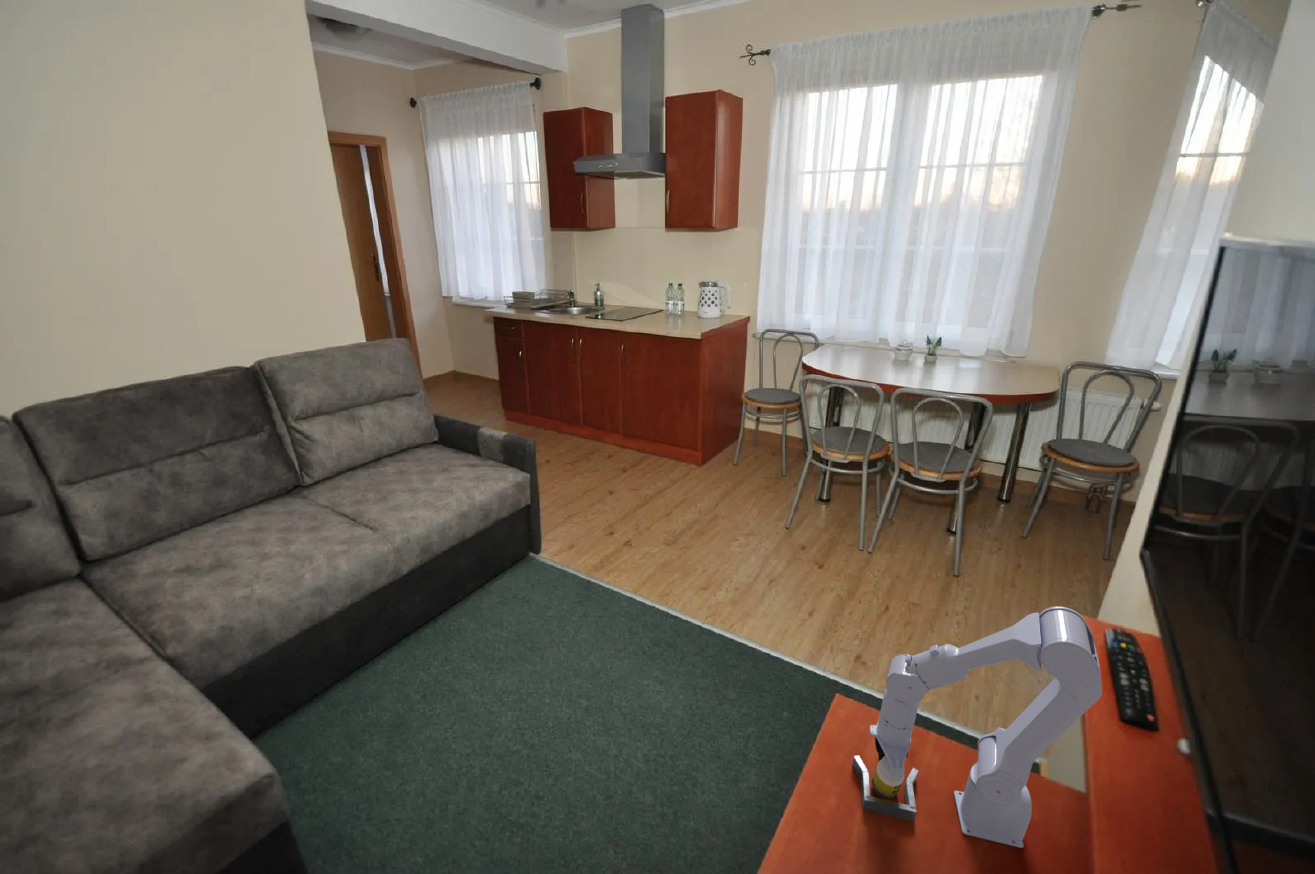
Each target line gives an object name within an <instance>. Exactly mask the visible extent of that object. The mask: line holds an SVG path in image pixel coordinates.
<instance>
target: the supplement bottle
mask: <svg viewBox="0 0 1315 874" xmlns="http://www.w3.org/2000/svg"><path fill="white" fill-rule="evenodd" d="M889 770H890V764H889V762H888V760H887V758H886V756H884V757H883V758H882V759H881V760H880V761H879V760H878V762H877V765H876V767H875V769H874V772H873V775H872V778H871V786H872V789H873V790H874V793H876V794H877V795H878V796H879V797H881V798H882V799H885V800H893V798H896V797H897V796H898V793H899V792H900V789H901V788H902V784H903V782H904V780H905V770H906V768H905V766H904V771H903V775H902V778H900V777H895V776H891V775H890V774H889Z"/></svg>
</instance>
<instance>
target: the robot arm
mask: <svg viewBox="0 0 1315 874" xmlns="http://www.w3.org/2000/svg"><path fill="white" fill-rule="evenodd" d="M1098 657H1099V656H1098V654H1097V649H1096V643H1095V637H1094V635H1093V632H1092V630H1091V628H1090V627H1089V625H1088V623H1087V621H1086V620H1085V618H1084V616H1083V615H1081V614H1080V613H1079V612H1078V611H1076V610H1074V609H1072V608H1069V607H1066V606H1059V605H1058V606H1049V607H1047V608H1045V609H1043V610H1042V611H1041V612H1040V613H1039V612H1033V613H1029V614H1027V615H1026V616H1025V617H1023V618H1022V619H1020V620H1019V621H1018V622H1016V623H1015V624H1014V625H1011V626H1009V627H1006V628H1005V629H1002V630H1000V631H997V632H995V633H993V634H990V635H987V636H985V637H982V638H980V639H978V640H976V641H973V642H971V643H967V644H966V645H963V646H961V647H957V646H955V645H953V644H949V643H946V644H944V645H943V644H942V645H938V644H934V645H931V646H930V647H929V650H925V651H923V652H920V653H917V654H914V655H911V654H907V653H905V654H904V653H903V654H899V655H896V656H895V657H893V658H892V659H890V660H889V661H890V662H889V670H888V674H887V678H886V686H885V690H884V693H883V696H882V697H883V698H882V702H881V707H880V710H879V716H878V721H877V723H876V724H875V725H874V724H870V725H869V735H870V737H873V738H874V742H875V743H874V747H875V751H876V753H877V754H878V762H879V761H880V760H881V759H882V758H883V757H884V756H886V758H887V760H888V762H889V764H890V770H889V774H890V775H891V776H895V777H900V778H902V775H903V771H904V767H905V761H906V759H907V758H908V756H909V750H910V746H911V745H912V744H911V743H912V733H913V730H914V726H915V721H916V718H917V713H918V709H919V706H920V702H921V701H922V700H923V698H924V695H925V694H927V693H929V691H931V690H934V689H937V688H941V687H945V686H947V685H951V684H954V683H955V684H956V683H958V682H961V681H964V680H966V679H967V677H968V676H969V672H970V670H975V669H979V668H982V667H988V666H992V665H997V664H1001V663H1005V662H1011V661H1014V660H1020V661H1022V662H1023V663H1025V664H1026V665H1028V666H1029V667H1031V668H1033V669H1034V670H1036V671H1038V672H1042V670H1043V669H1042V666H1043V667H1044V668H1045V669H1046V671H1047V672H1048V673H1049V674H1050V675H1052V677H1054V678H1053V679H1052V680H1051V682H1050V683H1049V684H1048V685H1046V687H1045V688H1044V689H1043V690H1042V691H1041V692H1040V693H1039V694H1038V695H1037V696H1036V697H1035V699H1034V700H1032V702H1031V703H1030V704H1029V705H1028V706H1027V707H1025V709H1024V710H1023V711H1022V712H1021V714H1019V716H1018V717H1017V718H1016V719H1015V720H1014V721H1013V722H1012V723H1011V724H1010V725H1009V726H1008V727H1007V728H1003V727H997V728H996V730H994V731H993V732H991V733H987V734H983V735H982V736H981V737H979V739H978V741H977V750H978V751H977V753H978V754H977V755H978V757H977V762H975V763H974V764H973V765H972V767H971V769H970V771H969V776H968V779H967V781H966V785H965V788H964V791H959V790H954V791H953V795H954V796H953V797H954V800H955V805H956V810H957V815H958V821H959V824H960V830H961V832H962V834H963V835H966V836H970V837H974V838H979V839H983V840H986V841H987V840H988V841H992V842H995V843H999V844H1003V845H1004V844H1005V845H1007V846H1011V847H1016V848H1020V849H1022V848H1024V842H1023V839H1025V835H1026V832H1027V829H1028V828H1029V827H1028V826H1029V824H1030V822H1031V818H1032V811H1033V810H1032V809H1033V807H1032V806H1033V805H1032V798H1031V795H1030V791H1029V789H1028V787H1027V783H1028V781H1029V777H1030V774H1031V770H1032V767H1033V764H1034V762H1035V761H1036V760H1037V759H1039V757H1041V756H1042V755H1043V754H1044V753H1045V752H1046V751H1047V750H1048V749H1049V748H1050V747H1051V746H1052V745H1053V744H1055V742H1056V741H1057V740H1058V739H1059V738H1060V737H1061V736H1062V735H1063V734H1064V733H1065V732H1066V731H1068V729H1069V728H1070V727H1071V726H1072V725H1073V724H1075V722H1077V721H1078V720H1079V719H1080V718H1081V717H1082V715H1084V714H1085V713H1086V712H1087V711H1088V710H1089V709H1090V708H1091V707H1092V706H1093V705H1094V704H1095V703H1096V702H1098V701H1099V699H1100V698H1101V697H1102V695H1103V687H1102V686H1103V685H1102V675H1101V666H1100V662H1099V658H1098Z"/></svg>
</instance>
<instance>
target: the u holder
mask: <svg viewBox="0 0 1315 874" xmlns="http://www.w3.org/2000/svg"><path fill="white" fill-rule="evenodd" d="M851 766H852V768H853V770H854V771H855V773H856V775H857V777H858V778H859V780H860V789H861V801H862V802H861V804H862V810H864V811H867V812H873V813H877V814H880V815H885V816H889V817H893V818H896V819H901V820H906V821H909V822H913V823H914V822H915V820H916V816H917V807H916V806H917V805H916V799H915V793H914V785H915V784H916V781H917V778H918V774H919V770H918V769H916V768H915V767H912V769H911V770H910V773H909V774H908V776H907V778H906V780H905V784H904V789H903V792H904V793H903V794H904V799H905V800H904V801H905V803H900V802H897V801H893V800H890V799H885V798H880V797H876V796H871V789H870V787H871V786H870V774H869V770H868V769H867V767H866V764H864V762H863V760H862V758H861V757H860V755H854V756H853V760H852V764H851Z"/></svg>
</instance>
